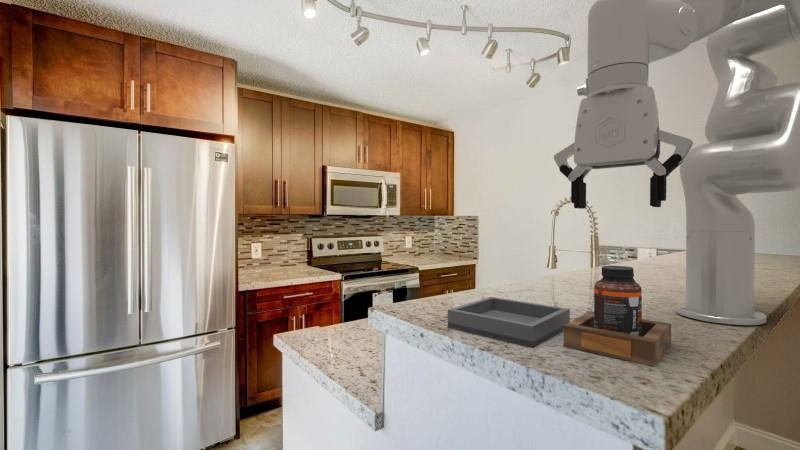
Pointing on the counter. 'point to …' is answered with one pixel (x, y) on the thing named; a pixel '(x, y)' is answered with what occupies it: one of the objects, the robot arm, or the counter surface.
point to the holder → (619, 340)
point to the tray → (509, 320)
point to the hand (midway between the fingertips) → (615, 207)
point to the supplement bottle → (618, 301)
